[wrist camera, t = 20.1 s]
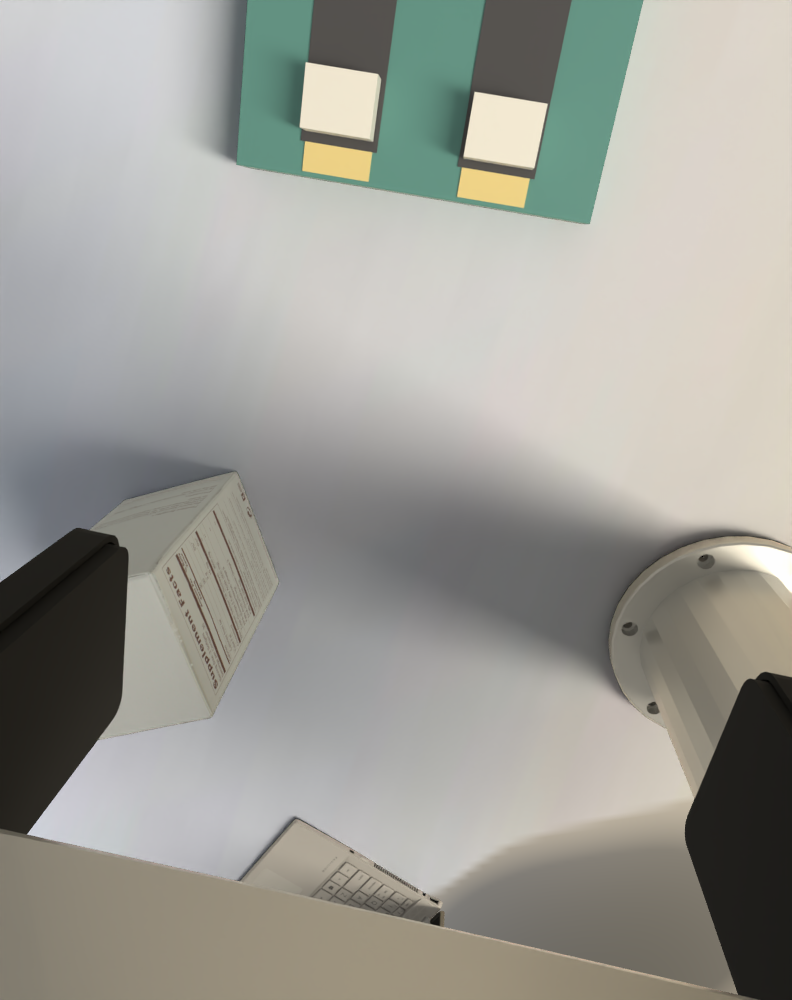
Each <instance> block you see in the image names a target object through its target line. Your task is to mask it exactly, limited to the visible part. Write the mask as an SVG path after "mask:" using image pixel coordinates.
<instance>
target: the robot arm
mask: <svg viewBox="0 0 792 1000" xmlns="http://www.w3.org/2000/svg"><path fill="white" fill-rule="evenodd" d="M704 554H706V555H705V556H704V557H703V558H700V557H701V556H702V555H704ZM128 564H129V553H128V550H127V549H126V547H121V546H119V542H118V538H117V537H116V536H115V535H110V534H105V533H101V532H96V531H91V530H86V529H81V528H76V529H74V530H72V531H70V532H69V533H68V534H66V535H65V536H64V537H62V538H61V539H59V540H58V541H57V542H55V543H54V544H53V545H51V546H50V547H48V548H47V549H46V550H44V551H43V552H42V553H40V554H39V555H37V556H36V557H35V558H33V559H32V560H31V561H29V562H28V563H26V564H25V565H24V566H22V567H21V568H20V569H18V570H17V571H15V572H14V573H13V574H11V575H10V576H9V577H7V578H6V579H4V580H3V581H2V582H0V1000H792V548H791V547H789V546H786V545H783V544H781V543H778V542H775V541H773V540H767V539H761V538H756V537H750V536H726V537H720V538H714V539H707V540H702V541H699V542H696V543H693V544H690V545H687V546H684V547H681V548H679V549H677V550H675V551H674V552H672V553H670V554H668V555H666V556H664V557H662V558H660V559H659V560H658V561H656V562H655V563H654V564H652V565H651V566H650V567H649V568H647V569H646V570H645V571H643V572H642V573H641V574H640V575H639V577H638V578H637V579H636V580H635V581H634V582H633V583H632V584H631V585H630V586H629V587H628V589H627V591H626V592H625V594H624V595H623V597H622V599H621V600H620V602H619V603H618V605H617V608H616V611H615V613H614V616H613V619H612V622H611V627H610V634H609V652H610V660H611V663H612V667H613V670H614V674H615V676H616V679H617V681H618V683H619V685H620V687H621V690H622V692H623V693H624V694H625V696H626V697H627V698H628V700H629V701H630V702H631V703H632V705H633V706H634V707H635V708H636V709H637V710H638V711H639V712H641V713H642V714H643V715H644V716H645V717H647V718H648V719H650V720H651V721H653V722H655V723H657V724H658V725H660V726H662V727H664V728H666V729H667V731H668V734H669V736H670V739H671V741H672V744H673V746H674V749H675V751H676V754H677V756H678V759H679V761H680V764H681V766H682V769H683V771H684V774H685V776H686V779H687V781H688V784H689V786H690V789H691V791H692V794H693V796H694V802H693V804H692V806H691V809H690V811H689V814H688V816H687V819H686V824H685V840H686V844H687V848H688V850H689V854H690V856H691V859H692V862H693V865H694V868H695V871H696V874H697V877H698V880H699V883H700V885H701V888H702V891H703V894H704V897H705V900H706V903H707V905H708V909H709V912H710V914H711V917H712V920H713V923H714V926H715V929H716V932H717V935H718V938H719V940H720V943H721V946H722V949H723V952H724V955H725V958H726V961H727V963H728V967H729V969H730V972H731V975H732V978H733V981H734V984H735V987H736V990H737V993H738V995H737V994H732V993H728V992H723V991H719V990H715V989H711V988H706V987H702V986H698V985H693V984H689V983H684V982H680V981H676V980H672V979H667V978H663V977H659V976H655V975H650V974H646V973H642V972H637V971H633V970H629V969H624V968H620V967H616V966H611V965H607V964H603V963H598V962H594V961H590V960H585V959H581V958H576V957H572V956H568V955H563V954H559V953H555V952H551V951H546V950H542V949H537V948H533V947H529V946H525V945H520V944H515V943H511V942H507V941H503V940H498V939H494V938H489V937H485V936H480V935H476V934H472V933H467V932H463V931H458V930H454V929H450V928H445V927H441V926H436V925H432V924H428V923H423V922H419V921H414V920H410V919H406V918H401V917H397V916H392V915H388V914H383V913H379V912H374V911H370V910H365V909H361V908H357V907H352V906H348V905H343V904H339V903H334V902H330V901H325V900H321V899H317V898H312V897H308V896H303V895H299V894H294V893H290V892H285V891H281V890H276V889H272V888H267V887H263V886H258V885H254V884H249V883H245V882H240V881H235V880H231V879H226V878H222V877H217V876H213V875H208V874H204V873H199V872H195V871H190V870H185V869H181V868H176V867H172V866H167V865H163V864H158V863H154V862H149V861H144V860H140V859H135V858H131V857H126V856H122V855H117V854H113V853H108V852H104V851H99V850H94V849H90V848H85V847H81V846H76V845H72V844H67V843H63V842H58V841H54V840H49V839H44V838H40V837H35V836H31V835H27V833H28V832H29V831H30V829H31V828H32V827H33V825H34V824H35V823H36V821H37V820H38V819H39V817H40V816H41V815H42V813H43V812H44V811H45V809H46V808H47V807H48V805H49V804H50V803H51V801H52V800H53V799H54V798H55V796H56V795H57V794H58V792H59V791H60V790H61V788H62V787H63V786H64V784H65V783H66V782H67V780H68V779H69V778H70V776H71V775H72V774H73V772H74V771H75V770H76V768H77V767H78V766H79V764H80V763H81V762H82V760H83V759H84V758H85V756H86V755H87V754H88V752H89V751H90V750H91V748H92V747H93V746H94V744H95V743H96V742H97V740H98V739H99V738H100V736H101V735H102V734H103V732H104V731H105V730H106V728H107V727H108V726H109V724H110V723H111V722H112V720H113V719H114V717H115V716H116V714H117V711H118V709H119V706H120V703H121V699H122V691H123V670H124V649H125V628H126V607H127V585H128ZM627 622H630V623H628V624H626V623H627Z"/></svg>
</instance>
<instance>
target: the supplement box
mask: <svg viewBox="0 0 792 1000" xmlns="http://www.w3.org/2000/svg"><path fill="white" fill-rule="evenodd" d="M90 530H91V531H96V532H101V533H105V534H110V535H115V536H116V537H117V538H118V542H119V546H121V547H126V549H127V550H128V553H129V564H128V585H127V607H126V628H125V649H124V670H123V691H122V699H121V703H120V706H119V709H118V711H117V714H116V716H115V717H114V719H113V720H112V722H111V723H110V724H109V726H108V727H107V728H106V730H105V731H104V732H103V734H102V735H101V736H100V738H99V739H98V740H101V739H106V738H111V737H116V736H121V735H126V734H131V733H136V732H141V731H146V730H151V729H156V728H161V727H166V726H171V725H177V724H182V723H187V722H192V721H197V720H202V719H208V718H211V717H213V714H214V712H215V710H216V708H217V706H218V704H219V702H220V700H221V698H222V696H223V694H224V692H225V690H226V688H227V686H228V684H229V682H230V680H231V678H232V676H233V674H234V672H235V670H236V668H237V666H238V664H239V662H240V660H241V658H242V656H243V654H244V652H245V650H246V648H247V646H248V644H249V642H250V640H251V638H252V636H253V634H254V632H255V630H256V628H257V626H258V624H259V622H260V620H261V619H262V617H263V614H264V612H265V610H266V608H267V606H268V605H269V603H270V601H271V598H272V596H273V594H274V592H275V590H276V588H277V586H278V584H279V580H278V578H277V575H276V572H275V570H274V567H273V564H272V561H271V559H270V556H269V554H268V551H267V548H266V546H265V543H264V540H263V538H262V535H261V532H260V530H259V527H258V525H257V522H256V519H255V517H254V514H253V511H252V509H251V506H250V503H249V501H248V498H247V496H246V493H245V491H244V488H243V486H242V483H241V480H240V478H239V475H238V473H237V472H230V473H227V474H222V475H218V476H214V477H210V478H206V479H202V480H198V481H195V482H191V483H187V484H183V485H180V486H176V487H172V488H168V489H165V490H161V491H157V492H153V493H150V494H146V495H142V496H138V497H135V498H131V499H127V500H124V501H123V502H122V503H121V504H120V505H118V506H117V507H116V508H115V509H114V510H112V511H111V512H110V513H109V514H107V515H106V516H105V517H104V518H103V519H102V520H100V521H99V522H98V523H97V524H96V525H94V526H93V527H92V528H91V529H90Z"/></svg>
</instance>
